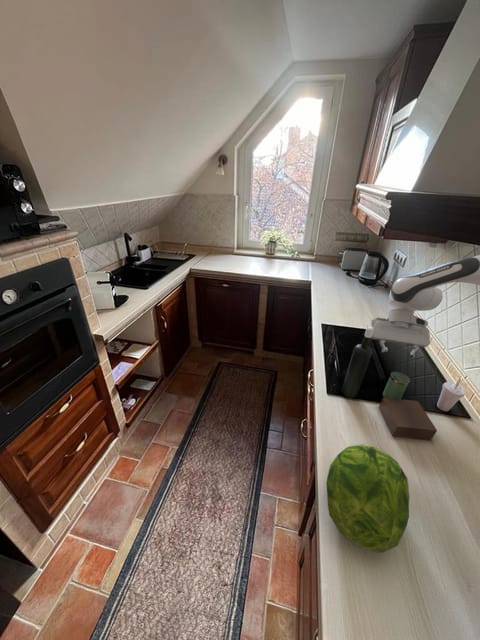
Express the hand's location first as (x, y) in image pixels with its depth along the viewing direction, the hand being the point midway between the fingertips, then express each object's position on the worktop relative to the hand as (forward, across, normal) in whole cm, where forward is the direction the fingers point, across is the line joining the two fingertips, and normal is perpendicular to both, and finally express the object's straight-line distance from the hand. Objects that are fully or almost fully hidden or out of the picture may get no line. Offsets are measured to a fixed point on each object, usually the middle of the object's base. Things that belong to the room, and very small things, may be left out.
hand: (397, 354), depth 98 cm
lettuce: (+46, -17, -26) cm, 56 cm away
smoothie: (+16, +17, +4) cm, 24 cm away
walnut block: (+25, +1, -5) cm, 25 cm away
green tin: (+16, 0, +4) cm, 16 cm away
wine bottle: (+18, -16, +2) cm, 24 cm away
